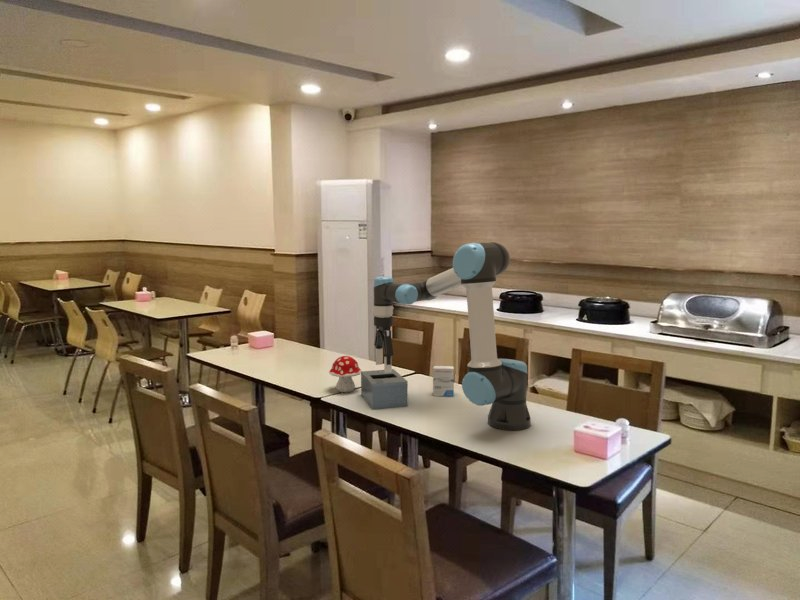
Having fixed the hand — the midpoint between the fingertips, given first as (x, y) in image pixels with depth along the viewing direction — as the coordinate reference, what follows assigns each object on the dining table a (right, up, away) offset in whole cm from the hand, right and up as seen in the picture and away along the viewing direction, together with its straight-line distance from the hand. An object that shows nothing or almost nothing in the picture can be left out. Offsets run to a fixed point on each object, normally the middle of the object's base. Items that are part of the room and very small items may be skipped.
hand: (383, 368), depth 237 cm
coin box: (0, -13, +2) cm, 13 cm away
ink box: (+25, -12, +10) cm, 29 cm away
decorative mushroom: (-17, -11, +16) cm, 25 cm away
